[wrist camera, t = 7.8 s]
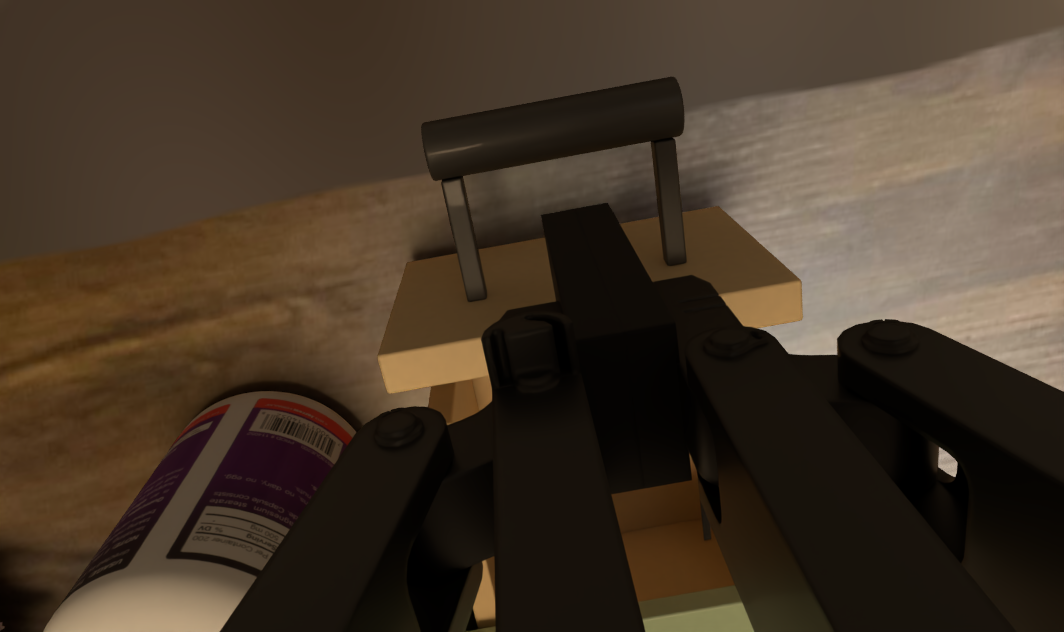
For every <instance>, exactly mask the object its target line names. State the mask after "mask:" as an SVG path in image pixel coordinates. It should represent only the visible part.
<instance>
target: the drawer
mask: <svg viewBox="0 0 1064 632" xmlns="http://www.w3.org/2000/svg"><path fill="white" fill-rule="evenodd" d="M421 128H422V129H421V130H422V139H423V147H424V152H425V156H426V161H427V164H428V168H429V172H430V174H431V177H432V179H433V180H434V181H438V180H442V182H441V185H442V189H443V194H444V198H445V203H446V207H447V212H448V216H449V221H450V225H451V230H452V234H453V239H454V243H455V247H456V252H457V253H456V254H451V255H445V256H440V257H434V258H429V259H423V260H418V261H412V262H408V263H407V264H406V267H405V270H404V274H403V277H402V280H401V283H400V286H399V290H398V293H397V296H396V299H395V302H394V305H393V309H392V312H391V315H390V318H389V321H388V325H387V328H386V331H385V334H384V337H383V340H382V344H381V347H380V350H379V353H378V357H377V359H378V362H379V366H380V369H381V373H382V376H383V380H384V383H385V387H386V390H387V392H388V393H389V394H392V393H397V392H403V391H408V390H414V389H420V388H425V387H431V391H430V398H429V404H428V407H430V408H432V409H435V410H437V411H439V412H441V413H442V415H443V416H444V418H445V419H446V422H447V425H449V424H451V423H454V422H457V421H460V420H462V419H464V418H467V417H469V416H471V415H474V414H475V413H477V412H479V411H480V410H482V409H483V408H485V407H486V406H487V405H488V404H489V403H490V402H491V401H492V387H491V382H490V378H489V373H488V369H487V364H486V360H485V355H484V351H483V346H482V342H481V337H482V335H483V333H484V331H485V330H486V329H487V328H488V327H490V326H491V325H492V324H493V323H495V322H497V321H499V320H500V319H501V317H502V316H503V315H504V314H505V312H506V311H507V310H511V309H516V308H522V307H527V306H533V305H538V304H544V303H549V302H555V301H556V298H555V292H554V287H553V281H552V275H551V269H550V264H549V258H548V252H547V246H546V241H545V237H544V238H539V239H533V240H528V241H522V242H517V243H511V244H506V245H500V246H495V247H489V248H484V249H478V245H477V241H476V236H475V231H474V226H473V222H472V217H471V212H470V207H469V203H468V198H467V193H466V188H465V184H464V179H463V176H465V175H470V174H476V173H481V172H487V171H492V170H498V169H503V168H509V167H514V166H519V165H525V164H530V163H536V162H541V161H547V160H552V159H558V158H563V157H568V156H574V155H579V154H585V153H590V152H596V151H601V150H607V149H612V148H617V147H623V146H628V145H634V144H639V143H645V142H650V141H651V149H652V158H653V167H654V177H655V186H656V195H657V204H658V213H659V217H655V218H649V219H644V220H638V221H633V222H627V223H622V224H620V225H621V227H622V229H623V231H624V232H625V234H626V236H627V238H628V239H629V241H630V243H631V245H632V246H633V248H634V250H635V252H636V254H637V255H638V257H639V259H640V261H641V262H642V264H643V266H644V268H645V269H646V271H647V273H648V275H649V276H650V278H651V280H652V282H654V281H660V280H665V279H671V278H676V277H682V276H687V275H694V276H696V277H698V278H701V279H703V280H705V281H708V282H710V283H711V284H712V286H713V287H714V288H715V290H716V291H717V292H718V294H719V296H721V297H722V299H723V300H724V301H725V303H726V306H727V305H728V307H729V308H730V309H731V311H732V312H733V313H734V315H735V316H736V317H737V318H738V320H739V321H740V322H741V324H742V325H743V326H747V327H754V328H761V327H767V326H773V325H778V324H784V323H789V322H795V321H800V320H802V318H803V314H802V283H801V280H800V279H799V278H798V277H797V276H796V275H794V274H793V273H792V272H791V271H790V270H789V269H788V268H787V267H786V266H784V265H783V264H782V263H781V262H780V261H779V260H778V259H777V258H776V257H774V256H773V255H772V254H771V253H770V252H769V251H768V250H767V249H766V248H764V247H763V246H762V245H761V244H760V243H759V242H758V241H757V240H756V239H754V238H753V237H752V236H751V235H750V234H749V233H748V232H747V231H746V230H744V229H743V228H742V227H741V226H740V225H739V224H738V223H737V222H736V221H734V220H733V219H732V218H731V217H730V216H729V215H728V214H727V213H726V212H724V211H723V210H722V209H721V208H720V207H719V206H715V207H710V208H704V209H699V210H693V211H688V212H682V205H681V195H680V184H679V174H678V163H677V153H676V142H675V139H674V138H672V137H677V136H680V135H682V133H683V130H684V106H683V99H682V94H681V90H680V87H679V84H678V82H677V80H676V79H675V78H674V77H668V78H662V79H657V80H652V81H646V82H640V83H635V84H630V85H624V86H620V87H614V88H608V89H603V90H598V91H592V92H586V93H581V94H576V95H570V96H565V97H560V98H554V99H549V100H543V101H538V102H533V103H527V104H522V105H516V106H511V107H505V108H501V109H495V110H490V111H484V112H479V113H473V114H468V115H462V116H457V117H451V118H446V119H441V120H436V121H430V122H425V123H423V124H422V127H421ZM689 455H690V454H689ZM690 464H691V474H692V480H691V481H685V482H680V483H674V484H668V485H662V486H657V487H651V488H645V489H640V490H634V491H628V492H622V493H617V494H611V495H612V499H613V503H614V507H615V511H616V515H617V519H618V523H619V527H620V531H621V535H622V539H623V543H624V547H625V551H626V555H627V559H628V563H629V567H630V571H631V575H632V579H633V583H634V587H635V591H636V595H637V599H638V602H639V601H645V600H651V599H657V598H663V597H668V596H674V595H680V594H686V593H692V592H697V591H703V590H709V589H715V588H721V587H726V586H732V585H735V584H734V581H733V579H732V577H731V574H730V572H729V569H728V567H727V564H726V562H725V560H724V557H723V555H722V552H721V550H720V547H719V545H718V543H717V540H716V538H715V535H714V533H713V530H712V528H711V539H709V540H704V535H703V526H702V516H701V506H700V496H699V486H698V476H697V470H696V467H695V465H694V463H693V460H692V458H691V456H690ZM482 563H483V577H482V581H481V584H480V587H479V590H478V593H477V596H476V600H475V603H474V606H473V611H474V615H475V619H476V623H477V626H478V629H482V628H488V627H494V626H495V560H494V556H493V557H491V558H489V559H486V560H484V561H482Z"/></svg>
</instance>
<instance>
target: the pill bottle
mask: <svg viewBox="0 0 1064 632" xmlns="http://www.w3.org/2000/svg"><path fill="white" fill-rule="evenodd" d="M355 434H356V431H355V430H354V429H353V428H352V427H351V426H350V425H349V423H348V422H346V421H345V420H344V419H343V418H342V417H341V416H340V415H338V414H337V413H336V412H334V411H333V410H331V409H330V408H328V407H326V406H325V405H323V404H321V403H319V402H317V401H314V400H312V399H309V398H306V397H303V396H300V395H296V394H291V393H285V392H276V391H259V392H250V393H244V394H240V395H236V396H232V397H229V398H227V399H224V400H221V401H219V402H217V403H215V404H213V405H212V406H210V407H208V408H207V409H205V410H204V411H202V412H201V413H200V414H199V415H198V416H196V417H195V418H194V419H193V420H192V421H191V422H190V423H189V424H188V425H187V427H186V428H185V429H184V430H183V432H182V433H181V434H180V435H179V437H178V438H177V439H176V441H175V442H174V444H173V445H172V446H171V448H170V449H169V451H168V453H167V454H166V455H165V457H164V458H163V459H162V461H161V463H160V464H159V466H158V467H157V468H156V469H155V471H154V473H153V474H152V476H151V477H150V478H149V480H148V481H147V483H146V484H145V485H144V487H143V488H142V490H141V491H140V493H139V494H138V495H137V497H136V498H135V500H134V501H133V503H132V504H131V505H130V507H129V508H128V510H127V511H126V513H125V514H124V515H123V517H122V518H121V520H120V521H119V523H118V524H117V525H116V527H115V528H114V530H113V531H112V532H111V534H110V535H109V537H108V538H107V539H106V541H105V542H104V544H103V545H102V547H101V548H100V549H99V551H98V552H97V554H96V555H95V557H94V558H93V559H92V561H91V562H90V564H89V565H88V566H87V568H86V569H85V571H84V572H83V574H82V575H81V576H80V578H79V579H78V581H77V582H76V584H75V585H74V586H73V588H72V589H71V591H70V592H69V593H68V595H67V596H66V598H65V599H64V600H63V602H62V603H61V604H60V606H59V607H58V609H57V610H56V611H55V613H54V614H53V616H52V618H51V620H50V621H49V622H48V624H47V625H46V627H45V629H44V631H43V632H220V630H221V629H222V627H223V626H224V624H225V623H226V622H227V620H228V619H229V617H230V616H231V614H232V613H233V611H234V610H235V608H236V607H237V606H238V604H239V603H240V601H241V600H242V598H243V597H244V595H245V594H246V592H247V591H248V589H249V588H250V587H251V585H252V584H253V582H254V581H255V579H256V578H257V576H258V575H259V573H260V572H261V571H262V569H263V568H264V566H265V565H266V563H267V562H268V560H269V559H270V557H271V556H272V554H273V553H274V552H275V550H276V549H277V547H278V546H279V544H280V543H281V541H282V540H283V538H284V537H285V536H286V534H287V533H288V531H289V530H290V528H291V527H292V525H293V524H294V522H295V521H296V520H297V518H298V517H299V515H300V514H301V512H302V511H303V509H304V508H305V506H306V505H307V503H308V502H309V501H310V499H311V498H312V496H313V495H314V493H315V492H316V490H317V489H318V487H319V486H320V485H321V483H322V482H323V480H324V479H325V477H326V476H327V474H328V473H329V471H330V470H331V468H332V467H333V466H334V464H335V463H336V461H337V460H338V458H339V457H340V455H341V454H342V452H343V451H344V450H345V448H346V447H347V445H348V444H349V442H350V441H351V439H352V438H353V436H354V435H355Z"/></svg>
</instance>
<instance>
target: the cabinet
mask: <svg viewBox="0 0 1064 632" xmlns="http://www.w3.org/2000/svg"><path fill="white" fill-rule="evenodd" d="M638 603H639V607H640V611H641V615H642V619H643V623H644V627H645V631H646V632H754V630H753V628H752V625H751V623H750V620H749V618H748V615H747V613H746V611H745V608H744V606H743V603H742V601H741V598H740V596H739V594H738V591H737V589H736V586H735V585H732V586H726V587H721V588H715V589H709V590H703V591H697V592H692V593H686V594H680V595H674V596H668V597H663V598H657V599H651V600H645V601H639V602H638ZM465 632H496V628H495V626H494V627H488V628H482V629H478V626H477V623H476V619H475V615H474V611H473V609H472V612H471V615H470V618H469V621H468V624H467V627H466V631H465Z"/></svg>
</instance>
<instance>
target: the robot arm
mask: <svg viewBox="0 0 1064 632" xmlns="http://www.w3.org/2000/svg"><path fill="white" fill-rule="evenodd" d="M541 217H542V223H543V229H544V235H545V241H546V246H547V252H548V258H549V264H550V269H551V275H552V281H553V287H554V292H555V298H556V301H555V302H549V303H544V304H538V305H533V306H527V307H522V308H516V309H511V310H507V311H506V312H505V314H504V315H503V316H502V317H501V319H500V320H499V321H497V322H495V323H493V324H492V325H491V326H490V327H488V328H487V329H486V330H485V331H484V333H483V335H482V337H481V342H482V346H483V351H484V355H485V360H486V364H487V369H488V373H489V378H490V382H491V387H492V401H491V402H490V403H489V404H488V405H487V406H486V407H485V408H483V409H482V410H480V411H479V412H477V413H475V414H474V415H471V416H469V417H467V418H464V419H462V420H460V421H457V422H454V423H451V424H449V425H447V422H446V419H445V418H444V416H443V415H442V413H441V412H439V411H437V410H435V409H432V408H430V407H416V406H414V407H407V408H397V409H393V410H391V411H390V412H389V411H387V412H385V413H382V414H380V415H379V416H378V417H376V418H374V419H373V420H371V421H369V422H368V423H366V424H365V425H364V426H363V427H362V428H361V429H360V430H359V431H358V432H357V433H356V434H355V435H354V436H353V438H352V439H351V441H350V442H349V444H348V445H347V447H346V448H345V450H344V451H343V452H342V454H341V455H340V457H339V458H338V460H337V461H336V463H335V464H334V466H333V467H332V468H331V470H330V471H329V473H328V474H327V476H326V477H325V479H324V480H323V482H322V483H321V485H320V486H319V487H318V489H317V490H316V492H315V493H314V495H313V496H312V498H311V499H310V501H309V502H308V503H307V505H306V506H305V508H304V509H303V511H302V512H301V514H300V515H299V517H298V518H297V520H296V521H295V522H294V524H293V525H292V527H291V528H290V530H289V531H288V533H287V534H286V536H285V537H284V538H283V540H282V541H281V543H280V544H279V546H278V547H277V549H276V550H275V552H274V553H273V554H272V556H271V557H270V559H269V560H268V562H267V563H266V565H265V566H264V568H263V569H262V571H261V572H260V573H259V575H258V576H257V578H256V579H255V581H254V582H253V584H252V585H251V587H250V588H249V589H248V591H247V592H246V594H245V595H244V597H243V598H242V600H241V601H240V603H239V604H238V606H237V607H236V608H235V610H234V611H233V613H232V614H231V616H230V617H229V619H228V620H227V622H226V623H225V624H224V626H223V627H222V629H221V630H220V632H465V631H466V627H467V624H468V621H469V618H470V615H471V612H472V609H473V606H474V603H475V600H476V596H477V593H478V590H479V587H480V584H481V581H482V577H483V563H482V561H484V560H486V559H489V558H491V557H493V556H494V560H495V628H496V632H646V631H645V627H644V623H643V619H642V615H641V611H640V607H639V603H638V599H637V595H636V591H635V587H634V583H633V579H632V575H631V571H630V567H629V563H628V559H627V555H626V551H625V547H624V543H623V539H622V535H621V531H620V527H619V523H618V519H617V515H616V511H615V507H614V503H613V499H612V495H611V494H617V493H622V492H628V491H634V490H640V489H645V488H651V487H657V486H662V485H668V484H674V483H680V482H685V481H691V480H692V474H691V464H690V456H691V458H692V460H693V463H694V465H695V467H696V470H697V476H698V486H699V496H700V506H701V516H702V526H703V535H704V540H709V539H711V528H712V530H713V533H714V535H715V538H716V540H717V543H718V545H719V547H720V550H721V552H722V555H723V557H724V560H725V562H726V564H727V567H728V569H729V572H730V574H731V577H732V579H733V581H734V584H735V586H736V589H737V591H738V594H739V596H740V598H741V601H742V603H743V606H744V608H745V611H746V613H747V615H748V618H749V620H750V623H751V625H752V628H753V630H754V632H1064V392H1063V391H1061V390H1059V389H1056V388H1054V387H1052V386H1050V385H1048V384H1046V383H1044V382H1042V381H1039V380H1037V379H1035V378H1033V377H1031V376H1029V375H1027V374H1025V373H1023V372H1020V371H1018V370H1016V369H1014V368H1012V367H1010V366H1008V365H1006V364H1004V363H1001V362H999V361H997V360H995V359H993V358H991V357H989V356H987V355H984V354H982V353H980V352H978V351H976V350H974V349H972V348H970V347H968V346H965V345H963V344H961V343H959V342H957V341H955V340H953V339H951V338H949V337H946V336H944V335H942V334H940V333H938V332H936V331H934V330H932V329H929V328H926V327H923V326H920V325H917V324H914V323H907V322H900V321H898V320H889V319H885V321H883V320H873V321H870V322H868V323H863V324H858V325H855V326H853V327H851V328H848V329H846V330H844V331H843V332H842V333H841V335H840V336H839V337H838V338H837V355H792V354H788V353H787V351H786V350H785V349H784V348H783V347H782V345H781V344H780V343H779V342H778V340H777V339H776V338H775V337H773V336H772V335H771V334H769V333H768V332H766V331H764V330H760V329H757V328H754V327H747V326H743V325H742V324H741V322H740V321H739V320H738V318H737V317H736V316H735V315H734V313H733V312H732V311H731V309H730V308H729V307H728V305H727V306H726V303H725V301H724V300H723V299H722V297H721V296H719V294H718V292H717V291H716V290H715V288H714V287H713V286H712V284H711V283H710V282H708V281H705V280H703V279H701V278H698V277H696V276H694V275H687V276H682V277H676V278H671V279H665V280H660V281H654V282H652V280H651V278H650V276H649V275H648V273H647V271H646V269H645V268H644V266H643V264H642V262H641V261H640V259H639V257H638V255H637V254H636V252H635V250H634V248H633V246H632V245H631V243H630V241H629V239H628V238H627V236H626V234H625V232H624V231H623V229H622V227H621V225H620V224H619V222H618V220H617V218H616V216H615V215H614V213H613V211H612V209H611V208H610V206H609V204H608V203H603V204H598V205H592V206H587V207H581V208H576V209H571V210H565V211H560V212H554V213H549V214H543V215H541ZM939 447H940V448H942V449H943V450H945V451H946V452H948V453H949V454H950V455H951V456H952V457H953V458H955V459H956V461H957V462H958V465H957V474H956V477H953V476H951V475H949V474H947V473H946V472H944V471H943V470H941V469H940V468H939V467H938V457H939ZM689 454H690V455H689Z"/></svg>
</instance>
